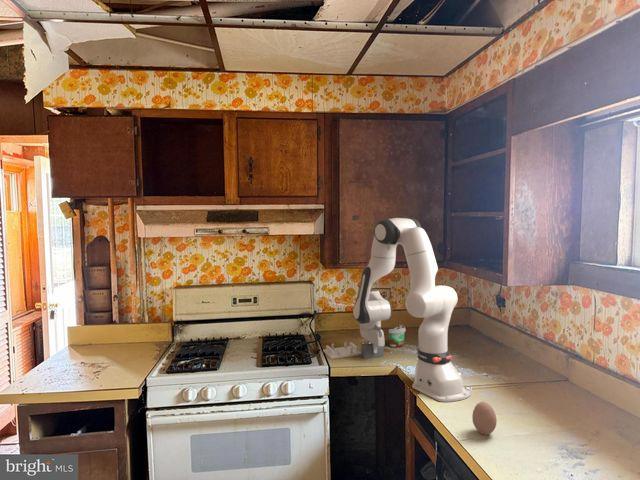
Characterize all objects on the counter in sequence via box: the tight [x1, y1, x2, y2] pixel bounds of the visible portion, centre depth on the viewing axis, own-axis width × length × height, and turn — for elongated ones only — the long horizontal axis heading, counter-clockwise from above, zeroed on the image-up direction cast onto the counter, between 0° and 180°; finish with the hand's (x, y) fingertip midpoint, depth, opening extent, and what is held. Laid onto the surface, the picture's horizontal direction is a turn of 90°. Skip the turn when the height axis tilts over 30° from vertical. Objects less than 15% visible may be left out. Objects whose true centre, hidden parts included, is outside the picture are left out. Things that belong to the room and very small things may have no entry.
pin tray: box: [322, 341, 361, 360], centre depth 195 cm, size 12×16×4 cm
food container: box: [388, 323, 407, 349], centre depth 204 cm, size 12×6×10 cm, turn 143°
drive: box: [360, 342, 385, 360], centre depth 189 cm, size 4×10×6 cm, turn 108°
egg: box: [471, 401, 498, 436], centre depth 118 cm, size 7×7×10 cm
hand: (372, 350), depth 189 cm, fingers closed on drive, 4 cm apart
